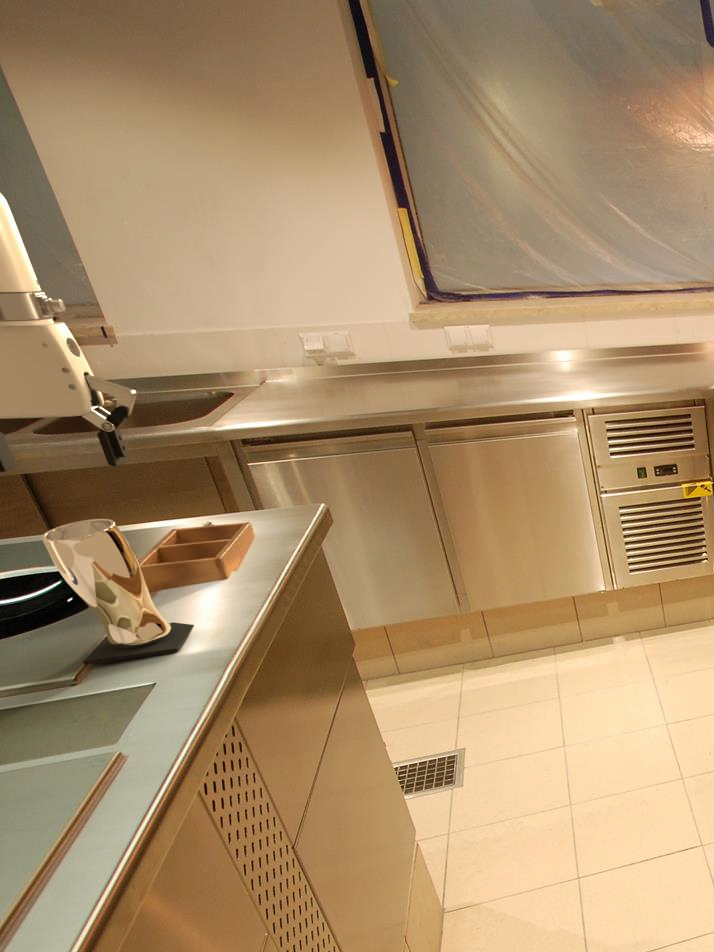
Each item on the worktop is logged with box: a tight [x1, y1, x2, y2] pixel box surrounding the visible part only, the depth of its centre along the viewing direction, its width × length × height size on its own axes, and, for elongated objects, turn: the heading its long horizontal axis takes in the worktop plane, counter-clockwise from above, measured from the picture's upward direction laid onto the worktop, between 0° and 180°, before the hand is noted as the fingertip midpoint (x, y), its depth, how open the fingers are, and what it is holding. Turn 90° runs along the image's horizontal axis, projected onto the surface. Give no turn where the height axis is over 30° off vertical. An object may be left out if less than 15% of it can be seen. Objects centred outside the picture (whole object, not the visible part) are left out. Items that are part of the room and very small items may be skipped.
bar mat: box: [82, 621, 195, 666], centre depth 108 cm, size 9×10×1 cm
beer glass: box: [40, 518, 172, 649], centre depth 103 cm, size 7×7×15 cm
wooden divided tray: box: [138, 521, 256, 593], centre depth 129 cm, size 10×19×5 cm, turn 27°
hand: (63, 466), depth 98 cm, fingers open, 9 cm apart
